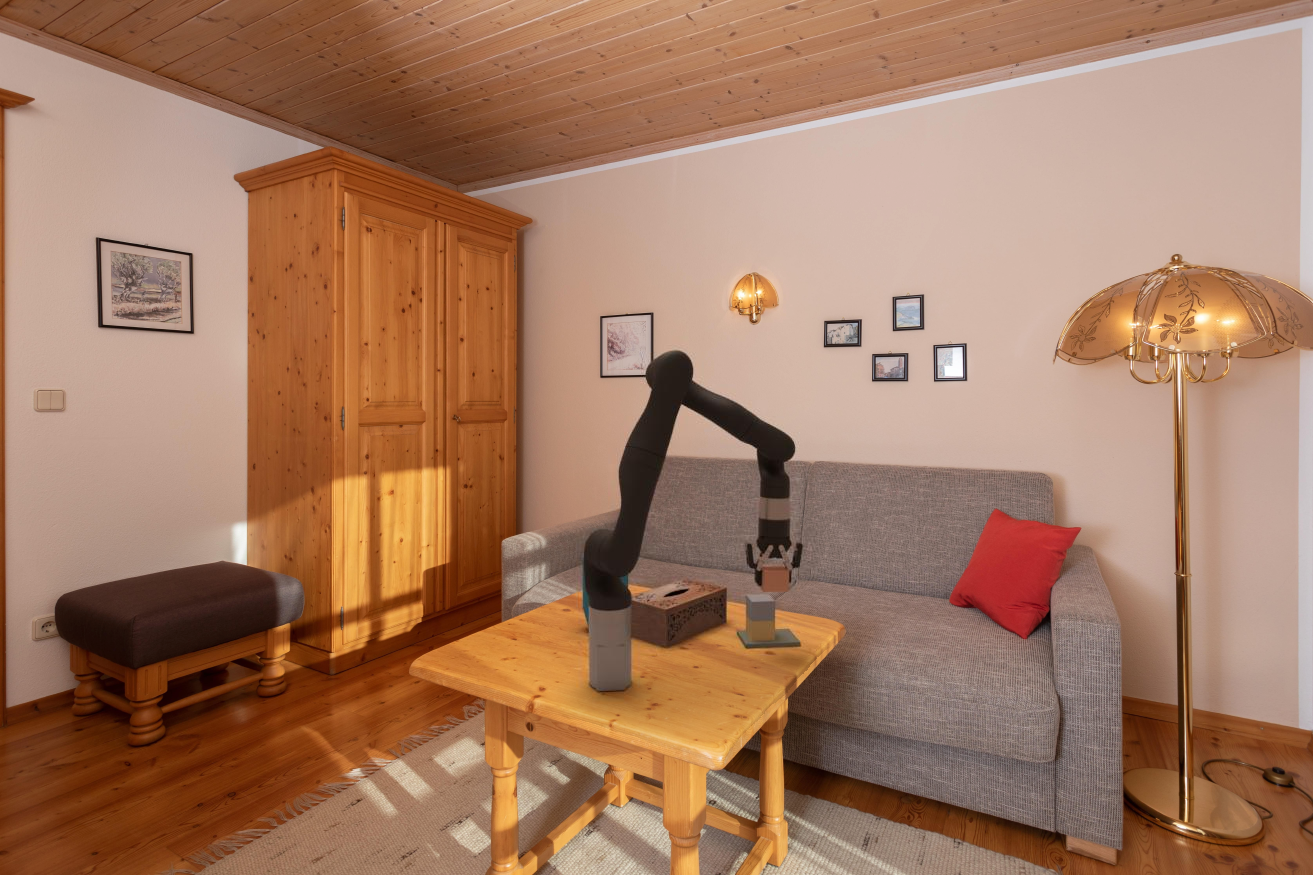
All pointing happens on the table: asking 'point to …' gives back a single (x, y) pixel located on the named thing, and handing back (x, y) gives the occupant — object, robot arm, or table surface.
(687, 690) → the table surface
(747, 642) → the felt mat
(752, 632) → the ochre block
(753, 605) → the slate block
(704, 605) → the tissue box cover
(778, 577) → the terracotta block
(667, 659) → the table surface
